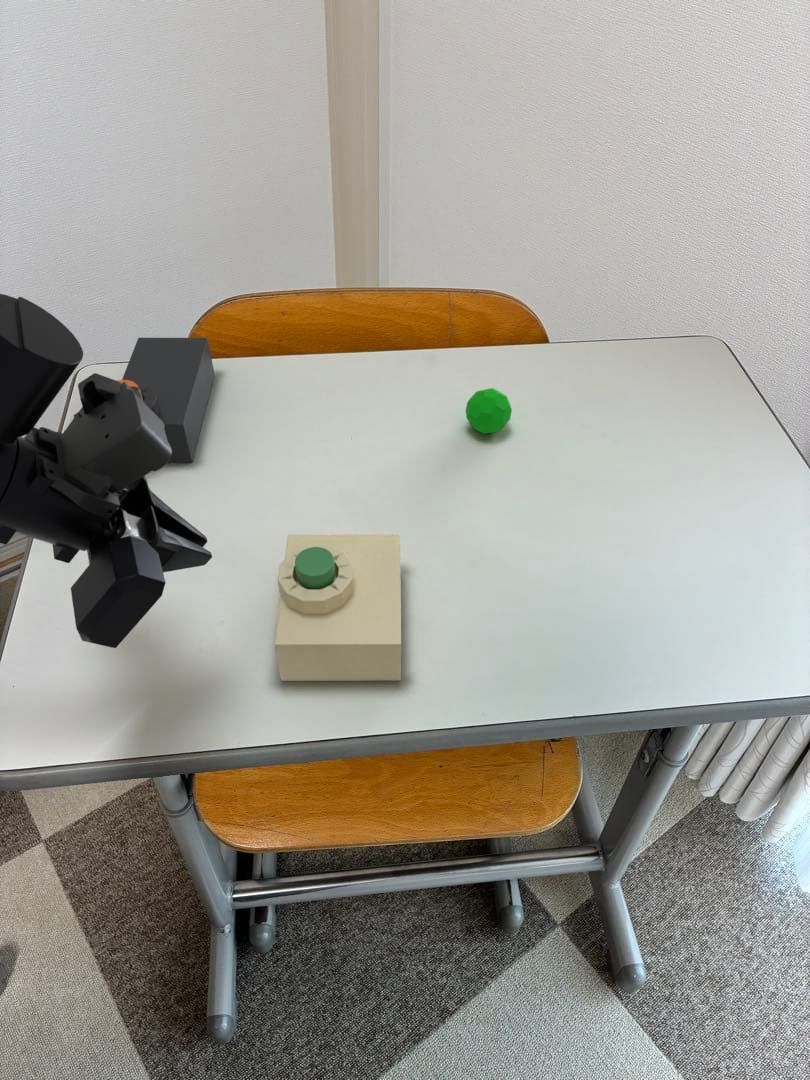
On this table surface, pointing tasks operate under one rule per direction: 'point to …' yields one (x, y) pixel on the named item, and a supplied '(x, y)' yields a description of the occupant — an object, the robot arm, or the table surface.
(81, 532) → the robot arm
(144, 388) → the dark gray block
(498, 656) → the table surface
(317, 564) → the power button
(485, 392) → the polyhedron
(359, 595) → the box
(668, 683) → the table surface
